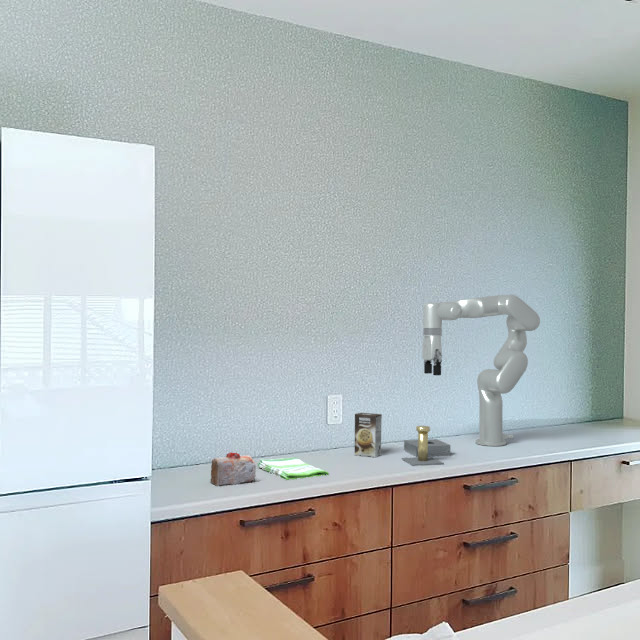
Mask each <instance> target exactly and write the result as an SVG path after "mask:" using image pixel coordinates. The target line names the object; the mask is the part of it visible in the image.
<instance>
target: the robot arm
mask: <svg viewBox="0 0 640 640" xmlns="http://www.w3.org/2000/svg"><path fill="white" fill-rule="evenodd" d="M422 311H423V312H422V313H423V318H422V322H423V323H422V324H423V329H422V330H423V331H422V332H423V333H422V335H423V342H422V356H421V357H422V358H421V359H423V360H424V361H423V367H424V368H423V370H424V372H423V373H424V374H425V375H426V374H432V375H433V376H441V375H442V361H443V360H442V359H443V354H442V351H443V350H442V336H443V328H442V327H443V321H456V320H458V319H466V318H467V319H477V318H478V319H480V318H487V317H494V316H504V315H505V316H506V315H507V317H506V328H507V331H508V333H507V334H508V336H507V337H506V340H505V341H504V344H502V346H501V347H500V349H499V350H498V352H497V353H496V355H495V356H494V358H493V361H492V362H493V366H494V368H495V369H494V368H487V369H483V370H481V371H480V372H479V373H478V375H477V380H476V381H477V382H476V383H477V389H478V396H479V397H478V398H479V402H478V403H479V407H478V408H479V409H478V410H479V413H478V414H479V415H478V416H479V417H478V418H479V423H478V424H479V425H478V427H479V428H478V429H479V433H478V434H479V437H478V438H479V439H478V438H477V439H476V440H475V444H477V445H480V446H489V447H499V446H501V447H502V446H505V445H506V444H507V441H506V440H513V439H514V435H513V434H510V433H509V434H507V433H504V432H503V396H502V395H503V394H509V393H510V392H511V391H512V390H513V389H514V388H515V387H516V385H517V383H518V382H519V381H520V379H521V378H522V377H523V375H524V374H525V372H526V370H527V369H528V364H529V359H528V356H527V354H526V353H525V352H524V351H525V350H526V348H527V344H528V338H527V332H532V331H536V330H537V329H538V328H539V327H540V325H541V324H540V323H541V318H540V316H539V314H538V313H537V312H536V311H535V309H533V308H532V307H531V306H529V304H528V303H526V302H525V301H524V300H523V299H522V298H520V296H517V295H516V294H497V295H489V296H481V297H474V298H473V297H472V298H467V299H461V300H460V299H459V300H451V301H445V302H444V301H443V302H425V303H424V304H423V309H422ZM501 394H502V395H501Z"/></svg>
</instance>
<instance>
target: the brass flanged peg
mask: <svg viewBox="0 0 640 640" xmlns="http://www.w3.org/2000/svg"><path fill="white" fill-rule="evenodd" d="M415 431H416V432H417V435H418V436H417V440H418V461H428V440H429V432H430V431H431V426H428V425H416V430H415Z"/></svg>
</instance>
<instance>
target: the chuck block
mask: <svg viewBox="0 0 640 640" xmlns="http://www.w3.org/2000/svg"><path fill="white" fill-rule="evenodd" d="M404 450H405V451H404ZM403 451H404V452H406V451H407V452H406V453H408V452H409V453H408V454H410V453H411V454H410V455H412V454H413V455H412V456H413V457H415V456H416V457H418V439H408V440H406V439H405V440H403ZM448 455H450V456H451V444H448V443H447V442H444V441H442V440H440V439H437V438H433V439H429V438H428V456H429V457H445V456H446V457H447V456H448Z"/></svg>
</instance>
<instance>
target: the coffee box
mask: <svg viewBox="0 0 640 640" xmlns="http://www.w3.org/2000/svg"><path fill="white" fill-rule="evenodd" d="M382 418H383V417H382V413H368V412H358V413H355V414H354V456H358V455H361V457H367V456H371V458H377V457H379V456H378V455H380V456H381V455H382ZM376 456H377V457H376Z"/></svg>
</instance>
